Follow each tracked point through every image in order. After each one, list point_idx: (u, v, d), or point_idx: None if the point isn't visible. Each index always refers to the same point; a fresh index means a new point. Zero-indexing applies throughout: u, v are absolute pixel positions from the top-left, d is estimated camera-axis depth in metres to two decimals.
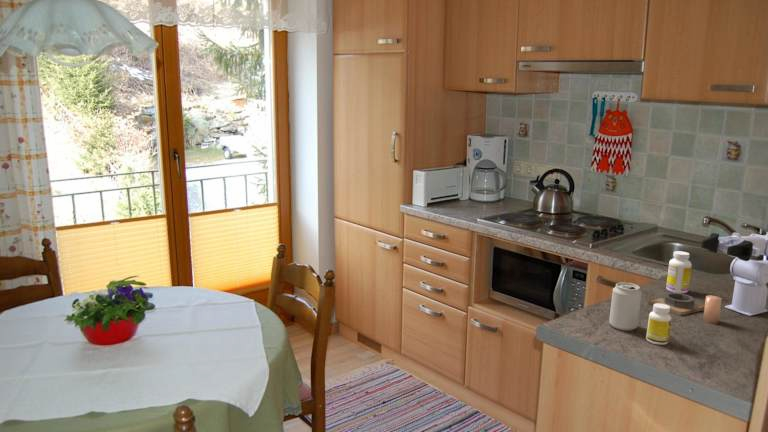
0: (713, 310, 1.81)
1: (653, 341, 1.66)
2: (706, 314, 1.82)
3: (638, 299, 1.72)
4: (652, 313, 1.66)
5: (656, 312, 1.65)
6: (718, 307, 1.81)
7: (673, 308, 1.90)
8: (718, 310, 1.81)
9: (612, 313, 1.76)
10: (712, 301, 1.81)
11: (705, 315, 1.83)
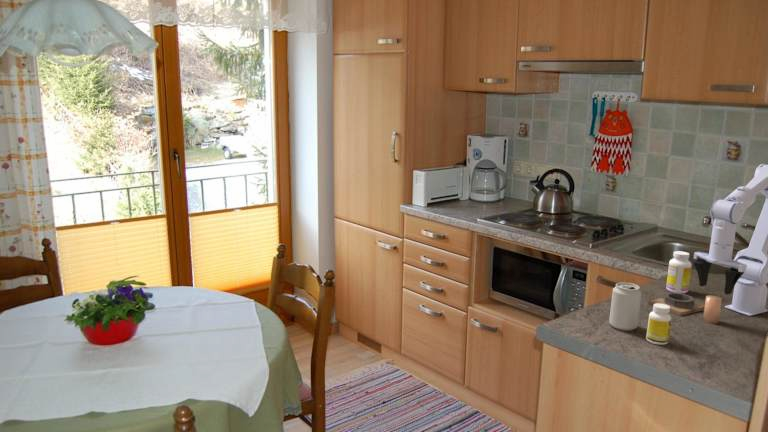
0: (713, 310, 1.81)
1: (653, 341, 1.66)
2: (706, 314, 1.82)
3: (638, 299, 1.72)
4: (652, 313, 1.66)
5: (656, 312, 1.65)
6: (718, 307, 1.81)
7: (673, 308, 1.90)
8: (718, 310, 1.81)
9: (612, 313, 1.76)
10: (712, 301, 1.81)
11: (705, 315, 1.83)
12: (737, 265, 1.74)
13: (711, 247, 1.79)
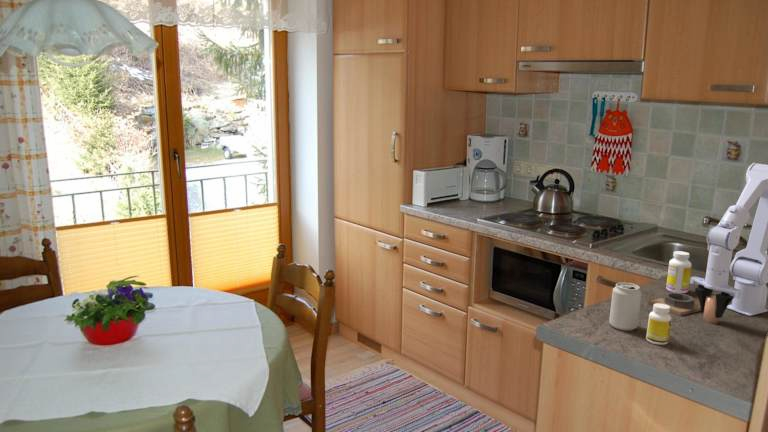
0: (713, 310, 1.81)
1: (653, 341, 1.66)
2: (706, 314, 1.82)
3: (638, 299, 1.72)
4: (652, 313, 1.66)
5: (656, 312, 1.65)
6: None
7: (673, 308, 1.90)
8: None
9: (612, 313, 1.76)
10: (712, 301, 1.81)
11: (705, 315, 1.83)
12: (733, 291, 1.76)
13: (707, 273, 1.80)
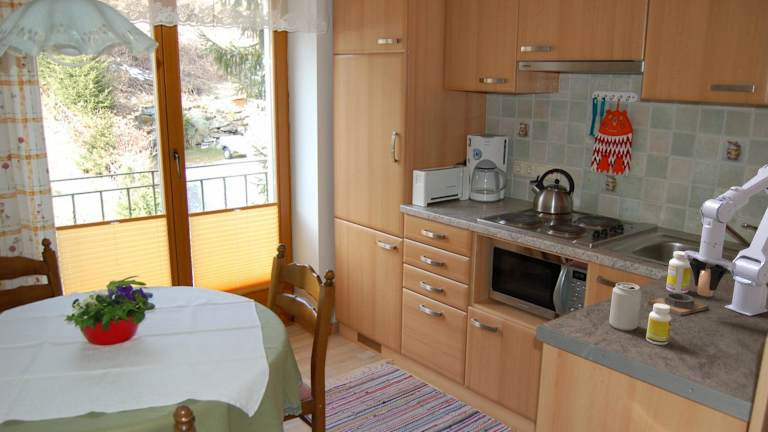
0: (707, 282, 1.82)
1: (653, 341, 1.66)
2: (700, 287, 1.84)
3: (638, 299, 1.72)
4: (652, 313, 1.66)
5: (656, 312, 1.65)
6: None
7: (673, 308, 1.90)
8: None
9: (612, 313, 1.76)
10: (706, 274, 1.82)
11: (699, 288, 1.84)
12: (727, 263, 1.77)
13: (701, 246, 1.82)
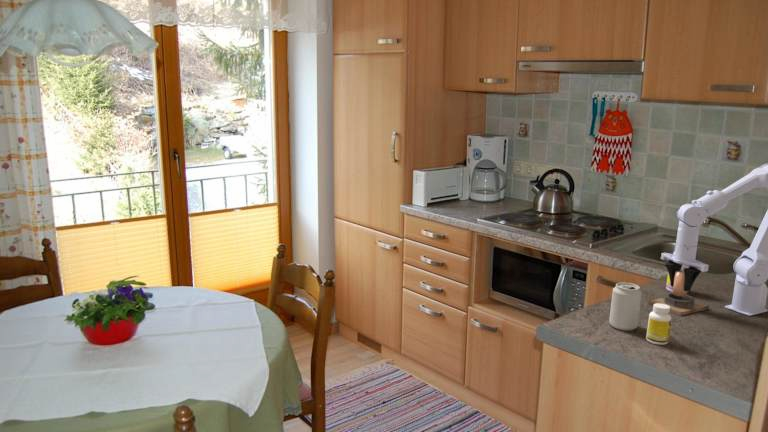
0: (681, 283, 1.91)
1: (653, 341, 1.66)
2: (675, 288, 1.93)
3: (638, 299, 1.72)
4: (652, 313, 1.66)
5: (656, 312, 1.65)
6: None
7: (673, 308, 1.90)
8: None
9: (612, 313, 1.76)
10: (681, 275, 1.91)
11: (674, 288, 1.93)
12: (700, 265, 1.86)
13: (676, 248, 1.91)
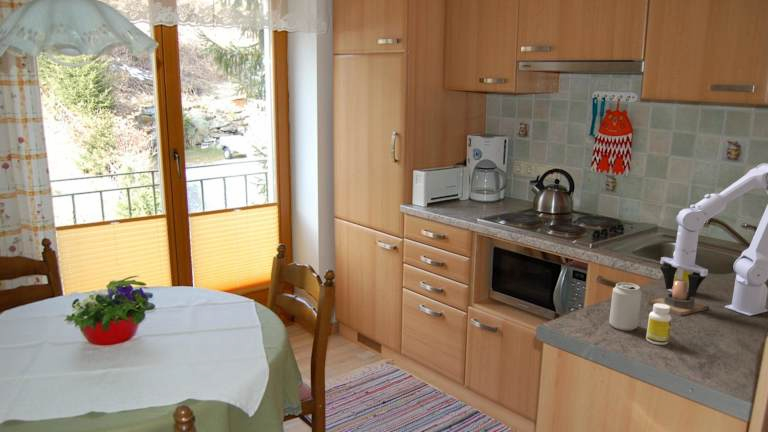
0: (680, 292, 1.92)
1: (653, 341, 1.66)
2: (674, 297, 1.93)
3: (638, 299, 1.72)
4: (652, 313, 1.66)
5: (656, 312, 1.65)
6: (685, 290, 1.92)
7: (673, 308, 1.90)
8: (685, 293, 1.92)
9: (612, 313, 1.76)
10: (679, 284, 1.91)
11: (673, 298, 1.94)
12: (699, 270, 1.86)
13: (676, 253, 1.91)
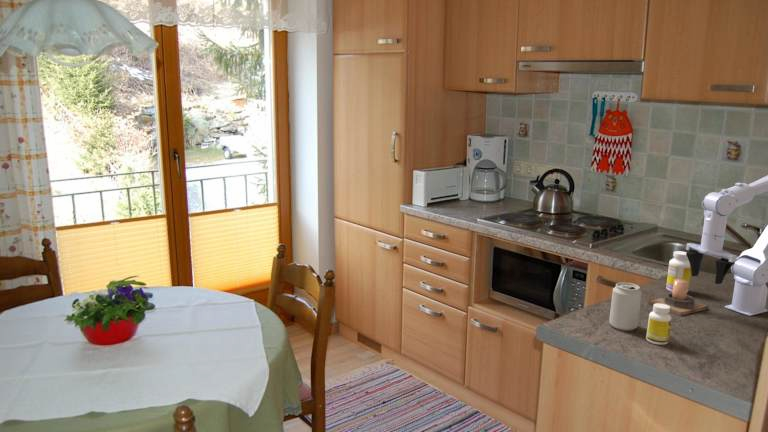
0: (680, 292, 1.92)
1: (653, 341, 1.66)
2: (674, 297, 1.93)
3: (638, 299, 1.72)
4: (652, 313, 1.66)
5: (656, 312, 1.65)
6: (685, 290, 1.92)
7: (673, 308, 1.90)
8: (685, 293, 1.92)
9: (612, 313, 1.76)
10: (679, 284, 1.91)
11: (673, 298, 1.94)
12: (727, 255, 1.80)
13: (703, 238, 1.85)
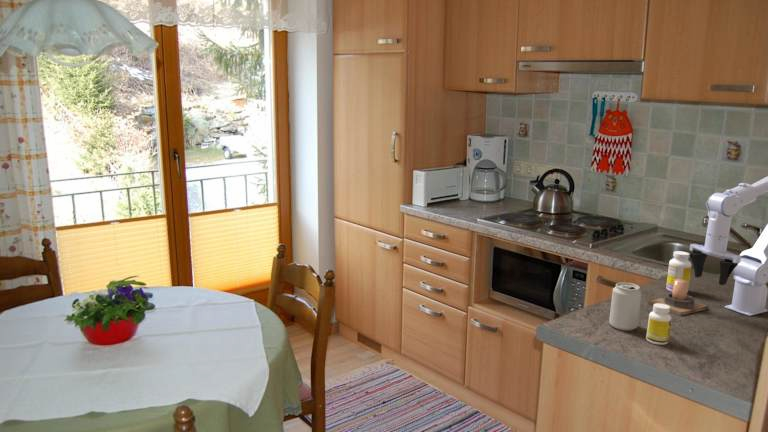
0: (680, 292, 1.92)
1: (653, 341, 1.66)
2: (674, 296, 1.93)
3: (638, 299, 1.72)
4: (652, 313, 1.66)
5: (656, 312, 1.65)
6: (685, 290, 1.92)
7: (673, 308, 1.90)
8: (685, 292, 1.92)
9: (612, 313, 1.76)
10: (680, 284, 1.92)
11: (673, 297, 1.94)
12: (732, 256, 1.79)
13: (707, 239, 1.84)
